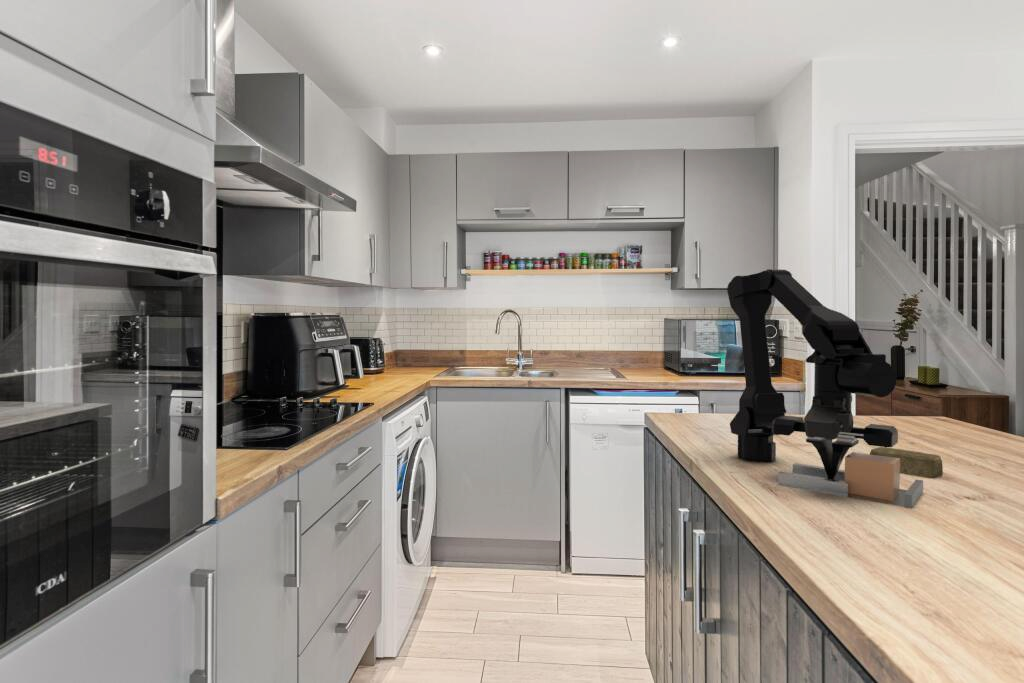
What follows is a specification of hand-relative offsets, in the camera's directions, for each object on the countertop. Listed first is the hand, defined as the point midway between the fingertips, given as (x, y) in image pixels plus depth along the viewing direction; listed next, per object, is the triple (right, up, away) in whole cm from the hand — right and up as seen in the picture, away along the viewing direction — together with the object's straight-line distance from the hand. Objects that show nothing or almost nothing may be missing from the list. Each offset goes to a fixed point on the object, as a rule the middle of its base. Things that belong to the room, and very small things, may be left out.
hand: (831, 479), depth 104 cm
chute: (+2, -2, -2) cm, 3 cm away
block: (+4, -1, -4) cm, 6 cm away
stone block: (+20, -2, +10) cm, 22 cm away
